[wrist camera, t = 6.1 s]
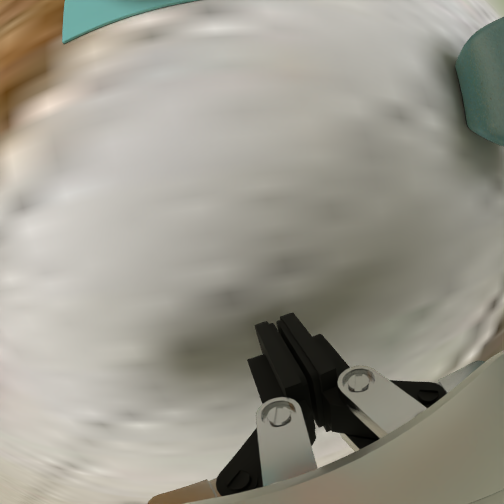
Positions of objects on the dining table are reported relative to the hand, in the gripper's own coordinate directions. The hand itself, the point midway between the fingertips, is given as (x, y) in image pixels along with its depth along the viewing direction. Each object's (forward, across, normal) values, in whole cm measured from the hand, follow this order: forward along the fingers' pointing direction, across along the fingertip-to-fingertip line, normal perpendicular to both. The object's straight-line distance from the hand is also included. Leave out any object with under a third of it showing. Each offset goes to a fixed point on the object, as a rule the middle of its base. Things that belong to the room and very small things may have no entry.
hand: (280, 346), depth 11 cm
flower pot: (+2, -19, -10) cm, 22 cm away
